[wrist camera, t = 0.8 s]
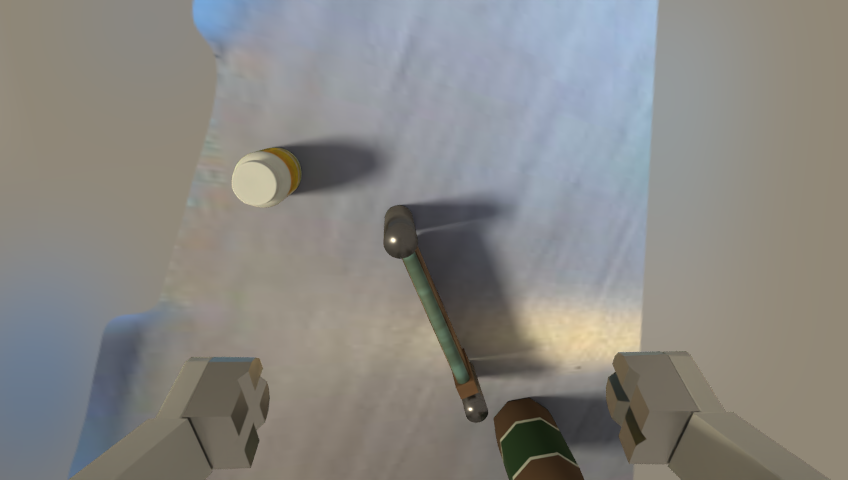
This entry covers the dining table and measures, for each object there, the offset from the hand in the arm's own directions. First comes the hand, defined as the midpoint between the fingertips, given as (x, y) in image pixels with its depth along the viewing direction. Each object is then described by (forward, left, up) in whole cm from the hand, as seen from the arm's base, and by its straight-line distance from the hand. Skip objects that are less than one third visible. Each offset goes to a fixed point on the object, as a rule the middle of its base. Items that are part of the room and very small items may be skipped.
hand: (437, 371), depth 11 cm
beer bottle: (-36, -2, -44) cm, 57 cm away
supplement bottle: (+5, +12, -44) cm, 46 cm away
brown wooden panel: (-16, +2, -42) cm, 45 cm away
